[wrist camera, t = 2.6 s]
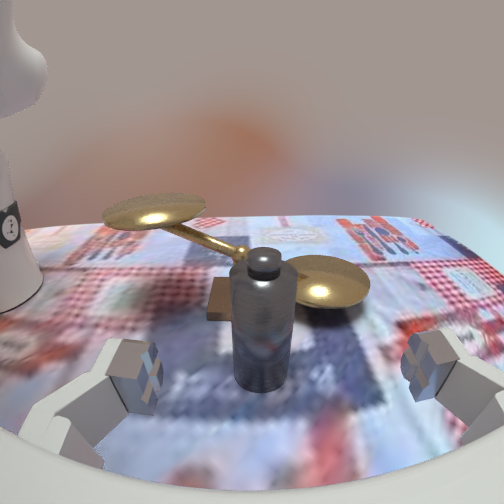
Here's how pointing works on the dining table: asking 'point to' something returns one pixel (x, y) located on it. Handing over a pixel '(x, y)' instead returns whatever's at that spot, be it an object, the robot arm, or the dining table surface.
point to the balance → (240, 254)
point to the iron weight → (262, 318)
